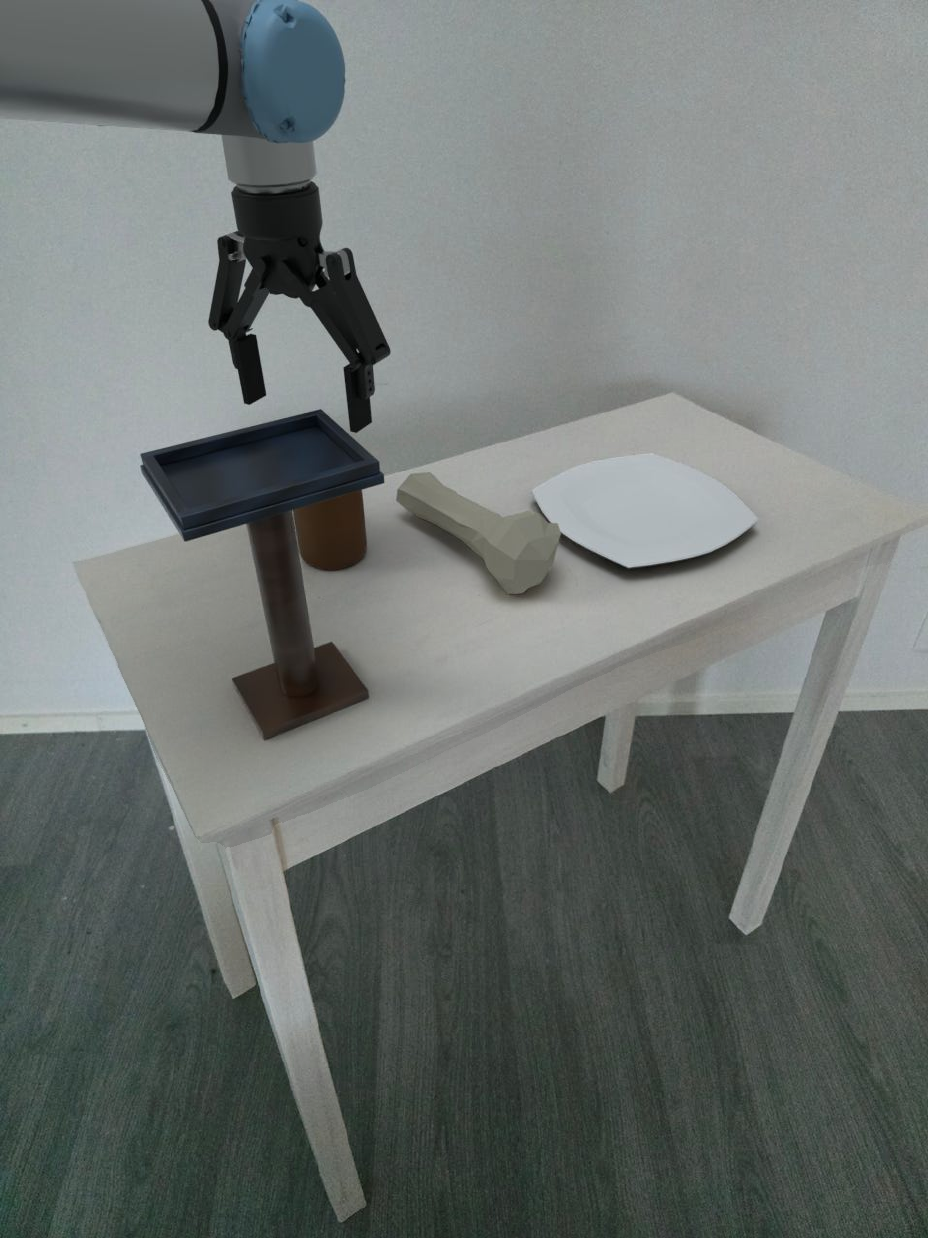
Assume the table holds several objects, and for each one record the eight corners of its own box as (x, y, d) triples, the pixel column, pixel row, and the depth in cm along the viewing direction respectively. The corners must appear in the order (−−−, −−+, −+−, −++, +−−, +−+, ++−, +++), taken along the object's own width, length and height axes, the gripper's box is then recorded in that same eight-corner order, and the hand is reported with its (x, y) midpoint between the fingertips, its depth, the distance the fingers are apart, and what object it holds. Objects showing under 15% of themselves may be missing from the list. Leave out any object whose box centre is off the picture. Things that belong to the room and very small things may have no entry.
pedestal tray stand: (242, 763, 69) (178, 519, 55) (201, 686, 77) (136, 452, 62) (401, 697, 75) (383, 461, 61) (349, 631, 83) (322, 406, 68)
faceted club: (506, 612, 83) (369, 520, 100) (565, 599, 89) (425, 514, 105) (525, 530, 80) (379, 448, 96) (585, 522, 85) (437, 445, 101)
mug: (266, 535, 97) (253, 462, 91) (321, 512, 101) (311, 441, 95) (325, 580, 90) (314, 504, 84) (381, 554, 94) (375, 479, 88)
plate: (505, 500, 102) (505, 486, 101) (652, 455, 111) (655, 441, 110) (622, 598, 87) (624, 583, 85) (783, 536, 96) (787, 522, 94)
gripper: (420, 188, 69) (429, 423, 83) (197, 162, 79) (238, 376, 93) (368, 208, 64) (387, 455, 78) (137, 177, 74) (190, 402, 88)
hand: (306, 413), depth 85 cm, fingers open, 13 cm apart
